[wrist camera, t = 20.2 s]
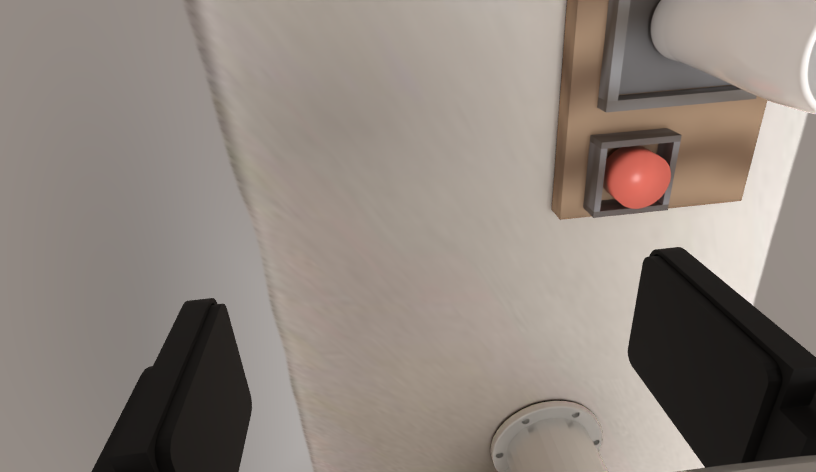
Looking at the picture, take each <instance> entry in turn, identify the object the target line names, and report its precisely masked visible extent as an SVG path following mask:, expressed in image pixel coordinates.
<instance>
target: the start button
mask: <svg viewBox="0 0 816 472" xmlns="http://www.w3.org/2000/svg"><path fill="white" fill-rule="evenodd" d="M670 179H671V171H670V167H669V165H668V163H667V162H666V161H665V160H664V159H663V158H662V157H660V156H658V155H657V154H655V153H653V152H652V151H650V150H648V149H646V148H645V147H643V146H640V145H639V146H628V147H621V148H619V149H618V150H616V151H615V152H613V153H612V154H611V155H610V156H609V157H608V158H607V160H606V166H605V174H604V182H603V188H604V189H605V190H606V191H607V192H608V193H609V194H610V195H611V196H612V197H614V198H615V199H616V200H617V201H618V202H619V203H621V204H622V205H623V206H625V207H628V208H631V209H639V208H644V207H647V206H649V205H651V204H653V203H655V202H656V201H657V200H658V199H660V198H661V197H662V195H663V194H664V193H665V191H666V190H667V188H668V186H669V183H670Z"/></svg>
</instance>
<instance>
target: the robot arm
mask: <svg viewBox="0 0 816 472" xmlns="http://www.w3.org/2000/svg"><path fill="white" fill-rule="evenodd" d="M628 357H629V361H630V363H631V365H632V367H633V368H634V370H635V371H636V372H637V374H638V375H639V376H640V378H641V379H642V381H643V382H644V383H645V385H646V386H647V388H648V389H649V390H650V392H651V393H652V394H653V396H654V397H655V399H656V400H657V401H658V403H659V404H660V406H661V407H662V408H663V410H664V411H665V412H666V414H667V415H668V417H669V418H670V419H671V421H672V422H673V424H674V425H675V426H676V428H677V429H678V430H679V432H680V433H681V435H682V436H683V437H684V439H685V440H686V442H687V443H688V444H689V446H690V447H691V448H692V450H693V451H694V453H695V454H696V455H697V457H698V458H699V460H700V461H701V462H702V464H703V465H704V466H705V468H700V469H692V470H685V471H677V472H816V357H815V356H813V355H812V354H811V353H810V352H808V351H807V350H806V349H805V348H804V347H802V346H801V345H800V344H799V343H798V342H796V341H795V340H794V339H793V338H792V337H790V336H789V335H788V334H787V333H785V332H784V331H783V330H782V329H781V328H779V327H778V326H777V325H776V324H775V323H773V322H772V321H771V320H770V319H769V318H767V317H766V316H765V315H764V314H762V313H761V312H760V311H759V310H758V309H756V308H755V307H754V306H753V305H752V304H750V303H749V302H748V301H747V300H745V299H744V298H743V297H742V296H741V295H739V294H738V293H737V292H736V291H735V290H733V289H732V288H731V287H730V286H728V285H727V284H726V283H725V282H724V281H722V280H721V279H720V278H719V277H718V276H716V275H715V274H714V273H713V272H711V271H710V270H709V269H708V268H707V267H705V266H704V265H703V264H702V263H700V262H699V261H698V260H697V259H696V258H694V257H693V256H692V255H691V254H690V253H688V252H687V251H686V250H685V249H683V248H681V247H675V248H666V249H657V250H654V251H652V252H651V254H650V256H649V257H646V258H645V259H644V261H643V265H642V271H641V276H640V282H639V288H638V294H637V300H636V305H635V311H634V317H633V323H632V329H631V334H630V340H629V346H628ZM251 411H252V402H251V395H250V391H249V388H248V384H247V380H246V377H245V373H244V369H243V366H242V362H241V358H240V355H239V351H238V347H237V344H236V340H235V336H234V333H233V329H232V326H231V322H230V318H229V315H228V312H227V308H226V306H225V304H217V302H216V300H215V299H214V298H210V299H200V300H192V301H186V302H185V303H184V304H183V306H182V308H181V310H180V312H179V315H178V316H177V318H176V320H175V322H174V324H173V327H172V329H171V331H170V333H169V335H168V337H167V339H166V341H165V343H164V345H163V347H162V349H161V351H160V353H159V355H158V357H157V359H156V361H155V363H154V365H153V366H151V367H148V368H146V369H145V370H144V372H143V373H142V375H141V376H140V378H139V380H138V382H137V384H136V386H135V388H134V390H133V392H132V394H131V396H130V398H129V400H128V402H127V404H126V406H125V408H124V409H123V411H122V413H121V415H120V417H119V419H118V421H117V423H116V425H115V427H114V429H113V431H112V433H111V435H110V437H109V439H108V441H107V443H106V445H105V447H104V449H103V451H102V452H101V454H100V456H99V458H98V460H97V463H96V464H95V466H94V468H93V470H92V472H238V471H239V467H240V462H241V458H242V453H243V449H244V444H245V439H246V434H247V430H248V426H249V421H250V416H251ZM602 440H603V435H602V429H601V426H600V424H599V422H598V420H597V419H596V417H595V416H594V414H593V413H592V412H591V411H590V410H588V409H587V408H585V407H584V406H582V405H579V404H576V403H573V402H568V401H548V402H542V403H538V404H535V405H531V406H529V407H527V408H524V409H522V410H520V411H519V412H517V413H515V414H514V415H512V416H511V417H510V418H509V419H507V420H506V421H505V422H504V423H503V424H502V425H501V426H500V428H499V429H498V430H497V432H496V434H495V435H494V437H493V440H492V443H491V456H492V460H493V463H494V466H495V468H496V470H497V471H498V472H608V470H607V468H606V466H605V464H604V462H603V460H602V458H601V457H600V455H599V453H598V452H599V450H600V447H601V444H602Z"/></svg>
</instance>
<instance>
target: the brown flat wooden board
mask: <svg viewBox="0 0 816 472" xmlns="http://www.w3.org/2000/svg"><path fill="white" fill-rule="evenodd" d="M659 2H660V0H567V8H566V22H565V35H564V49H563V63H562V76H561V90H560V103H559V117H558V131H557V144H556V158H555V172H554V185H553V199H552V211H553V212H554V213H555V214H556V215H557V217H558V218H559V219H560V220H561V219H571V218H581V217H590V216H592V217H593V218H596V217H605V216H615V215H624V214H634V213H644V212H653V211H663V210H668V208H676V207H686V206H696V205H705V204H715V203H724V202H734V201H741V200H742V196H743V192H744V188H745V185H746V181H747V177H748V173H749V169H750V165H751V161H752V157H753V154H754V150H755V146H756V142H757V138H758V134H759V130H760V126H761V123H762V119H763V115H764V111H765V107H766V103H767V100H765V99H763V98H760V97H758V96H756V95H753V94H751V93H749V92H746V91H744V90H742V89H740V88H738V87H735V86H733V85H731V84H729V83H727V82H724V81H722V80H720V79H718V78H716V77H713V76H711V75H709V74H707V73H704V72H702V71H700V70H698V69H695V68H693V67H691V66H688V65H686V64H684V63H680V62H677V61H673V60H670V59H668V58H666V57H664V56H663V55H661V54H660V53H659V52H658V51H657V49H656V48H655V46H654V44H653V42H652V38H651V31H650V30H651V20H652V16H653V14H654V11H655V9H656V7H657V5H658V3H659ZM639 145H640V146H643V147H645V148H646V149H648V150H650V151H652V152H653V153H655V154H657V155H658V156H660V157H662V158H663V159H664V160H665V161H666V162H667V163H668V165H669V167H670V171H671V179H670V183H669V186H668V188H667V190H666V191H665V193H664V194H663V195H662V197H661V198H660V199H658V200H657V201H656V202H655V203H653V204H651V205H649V206H647V207H644V208H639V209H631V208H628V207H625V206H623V205H622V204H621V203H619V202H618V201H617V200H616V199H615V198H614V197H612V196H611V195H610V194H609V193H608V192H607V191H606V190H605V189H604V188H603V182H604V174H605V166H606V160H607V158H608V157H609V156H610V155H611V154H612V153H613V152H615V151H616V150H618V149H619V148H621V147H628V146H639Z"/></svg>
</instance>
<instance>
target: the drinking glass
mask: <svg viewBox="0 0 816 472" xmlns="http://www.w3.org/2000/svg"><path fill="white" fill-rule="evenodd" d="M650 31H651V38H652V42H653V44H654V46H655V48H656V49H657V51H658V52H659V53H660V54H661V55H663V56H664V57H666V58H668V59H670V60H673V61H677V62H680V63H684V64H686V65H688V66H691V67H693V68H695V69H698V70H700V71H702V72H704V73H707V74H709V75H711V76H713V77H716V78H718V79H720V80H722V81H724V82H727V83H729V84H731V85H733V86H735V87H738V88H740V89H742V90H744V91H746V92H749V93H751V94H753V95H756V96H758V97H760V98H763V99H765V100H768V101H771V102H774V103H777V104H780V105H783V106H786V107H790V108H793V109H797V110H800V111H804V112H808V113H813V114H816V0H660V2H659V3H658V5H657V7H656V9H655V11H654V14H653V16H652V20H651V30H650Z"/></svg>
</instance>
